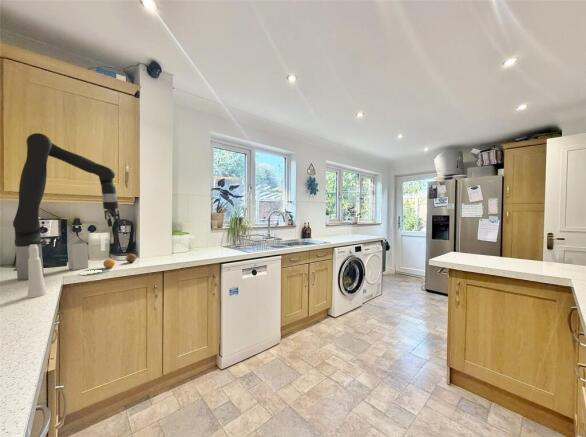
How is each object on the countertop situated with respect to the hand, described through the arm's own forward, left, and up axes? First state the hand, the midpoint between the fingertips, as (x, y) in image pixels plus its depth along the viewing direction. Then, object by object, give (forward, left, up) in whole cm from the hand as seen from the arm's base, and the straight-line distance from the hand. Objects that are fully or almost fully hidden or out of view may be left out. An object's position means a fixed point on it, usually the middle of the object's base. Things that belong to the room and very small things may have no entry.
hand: (113, 226), depth 157 cm
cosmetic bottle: (-32, -40, -24) cm, 56 cm away
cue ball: (+8, -2, -21) cm, 23 cm away
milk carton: (-18, +2, -24) cm, 30 cm away
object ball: (-4, -9, -21) cm, 23 cm away
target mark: (-11, -13, -24) cm, 29 cm away
